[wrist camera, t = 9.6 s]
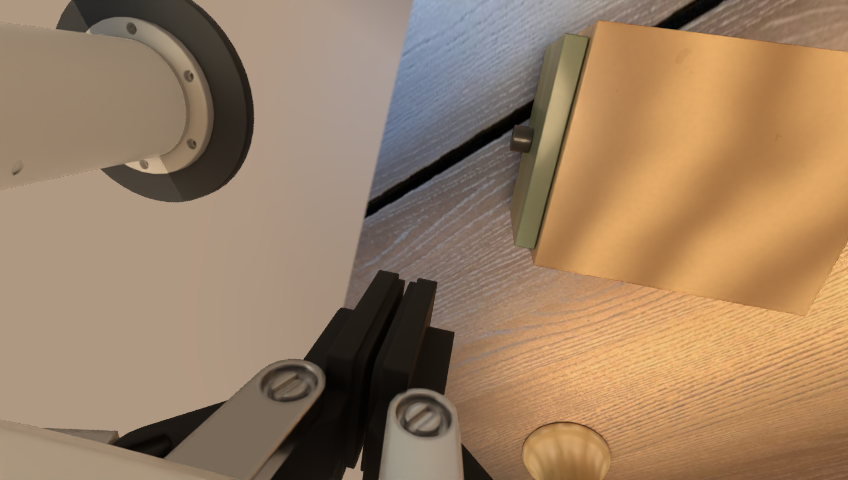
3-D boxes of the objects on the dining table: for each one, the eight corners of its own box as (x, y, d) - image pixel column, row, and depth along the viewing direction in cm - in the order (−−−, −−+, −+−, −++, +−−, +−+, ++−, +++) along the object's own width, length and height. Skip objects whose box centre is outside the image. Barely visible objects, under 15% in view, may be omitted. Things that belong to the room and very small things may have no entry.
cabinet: (522, 215, 32) (533, 265, 23) (564, 40, 28) (598, 19, 19) (716, 250, 31) (805, 316, 22) (795, 71, 26) (949, 64, 17)
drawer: (494, 206, 31) (494, 242, 24) (527, 44, 27) (540, 29, 20) (692, 241, 30) (755, 290, 23) (761, 76, 26) (864, 72, 19)
